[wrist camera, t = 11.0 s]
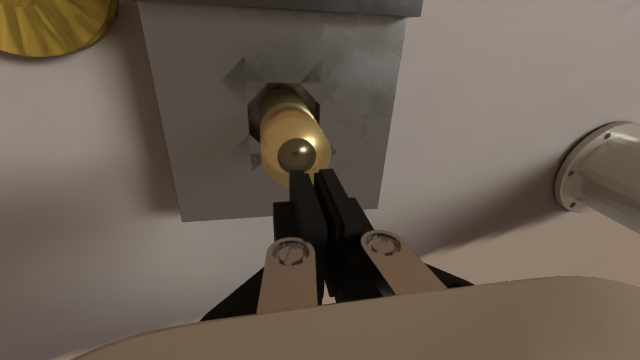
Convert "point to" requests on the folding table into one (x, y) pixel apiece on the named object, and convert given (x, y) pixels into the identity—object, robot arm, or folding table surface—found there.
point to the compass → (54, 25)
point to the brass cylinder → (290, 137)
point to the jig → (264, 77)
